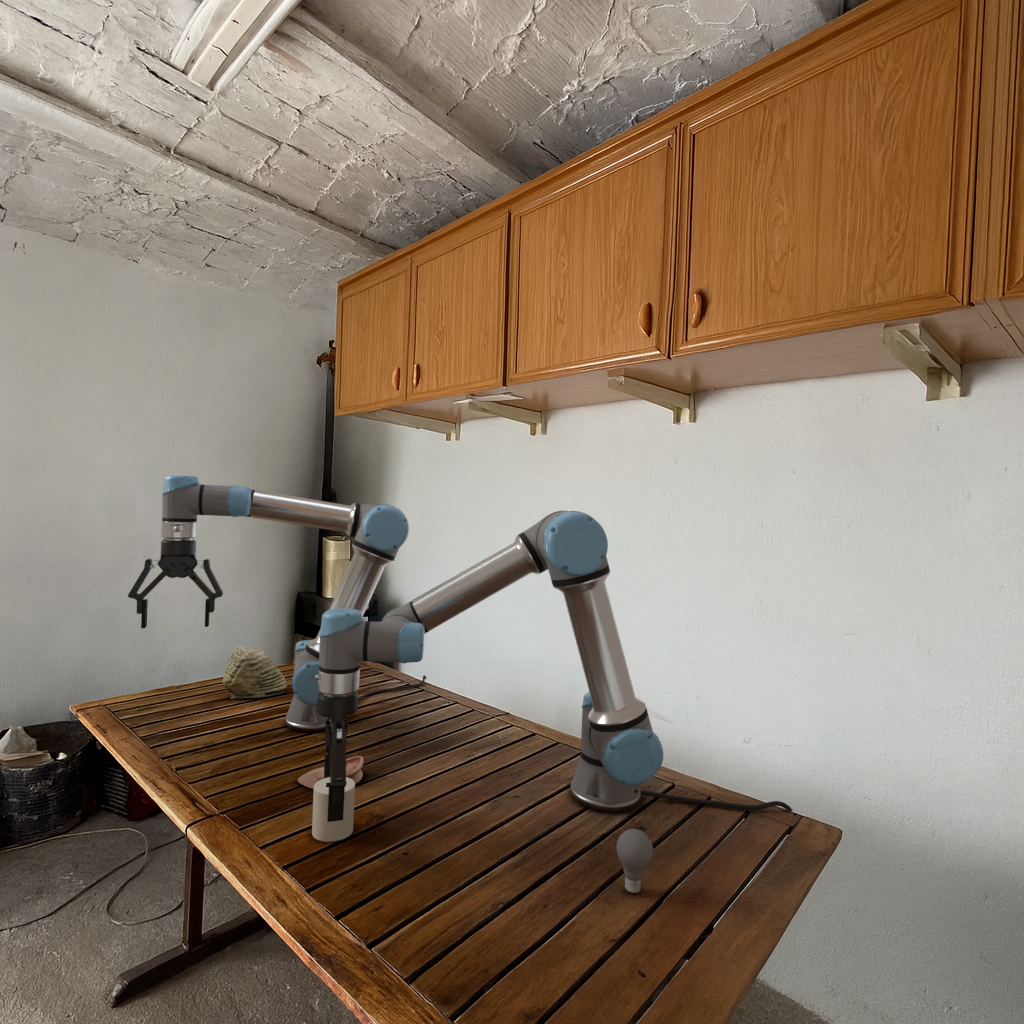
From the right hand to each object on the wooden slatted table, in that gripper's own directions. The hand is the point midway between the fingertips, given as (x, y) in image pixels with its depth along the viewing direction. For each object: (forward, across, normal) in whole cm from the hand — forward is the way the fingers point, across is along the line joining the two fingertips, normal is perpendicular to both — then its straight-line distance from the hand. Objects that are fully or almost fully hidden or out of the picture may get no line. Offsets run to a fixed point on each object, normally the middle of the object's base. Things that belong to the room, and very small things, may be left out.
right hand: (332, 802), depth 120 cm
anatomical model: (+6, -22, +1) cm, 23 cm away
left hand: (-24, -48, -35) cm, 64 cm away
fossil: (+6, -89, -18) cm, 91 cm away
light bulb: (+5, +32, +46) cm, 57 cm away
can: (+6, 0, 0) cm, 6 cm away
